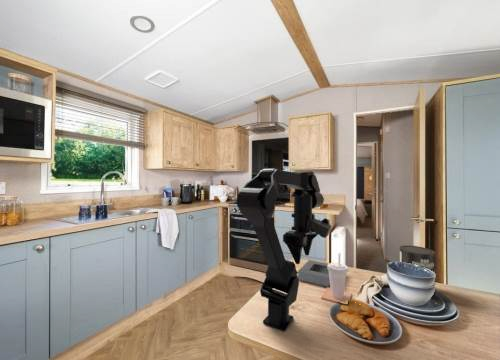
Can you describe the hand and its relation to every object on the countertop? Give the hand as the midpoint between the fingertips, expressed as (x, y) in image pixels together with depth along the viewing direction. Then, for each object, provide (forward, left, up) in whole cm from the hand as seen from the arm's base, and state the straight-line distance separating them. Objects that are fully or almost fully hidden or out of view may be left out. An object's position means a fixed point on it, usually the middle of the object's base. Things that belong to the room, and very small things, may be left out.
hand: (302, 259), depth 73 cm
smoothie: (+8, -9, -13) cm, 17 cm away
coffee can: (+28, -32, -13) cm, 44 cm away
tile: (+8, -9, -13) cm, 18 cm away
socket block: (+20, -1, -13) cm, 24 cm away
